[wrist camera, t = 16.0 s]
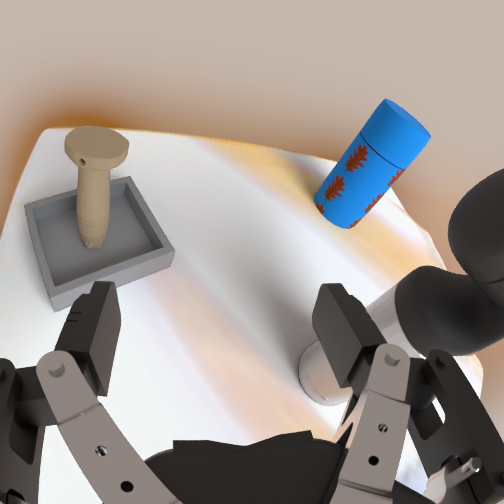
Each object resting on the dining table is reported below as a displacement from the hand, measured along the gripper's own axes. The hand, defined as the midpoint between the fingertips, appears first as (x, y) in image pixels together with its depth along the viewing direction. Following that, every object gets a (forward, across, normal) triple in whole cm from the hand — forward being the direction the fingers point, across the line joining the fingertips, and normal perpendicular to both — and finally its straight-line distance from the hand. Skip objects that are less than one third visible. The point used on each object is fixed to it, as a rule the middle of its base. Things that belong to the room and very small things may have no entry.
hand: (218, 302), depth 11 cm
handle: (+24, +14, +11) cm, 30 cm away
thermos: (+45, -28, +13) cm, 55 cm away
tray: (+25, +14, +11) cm, 31 cm away
